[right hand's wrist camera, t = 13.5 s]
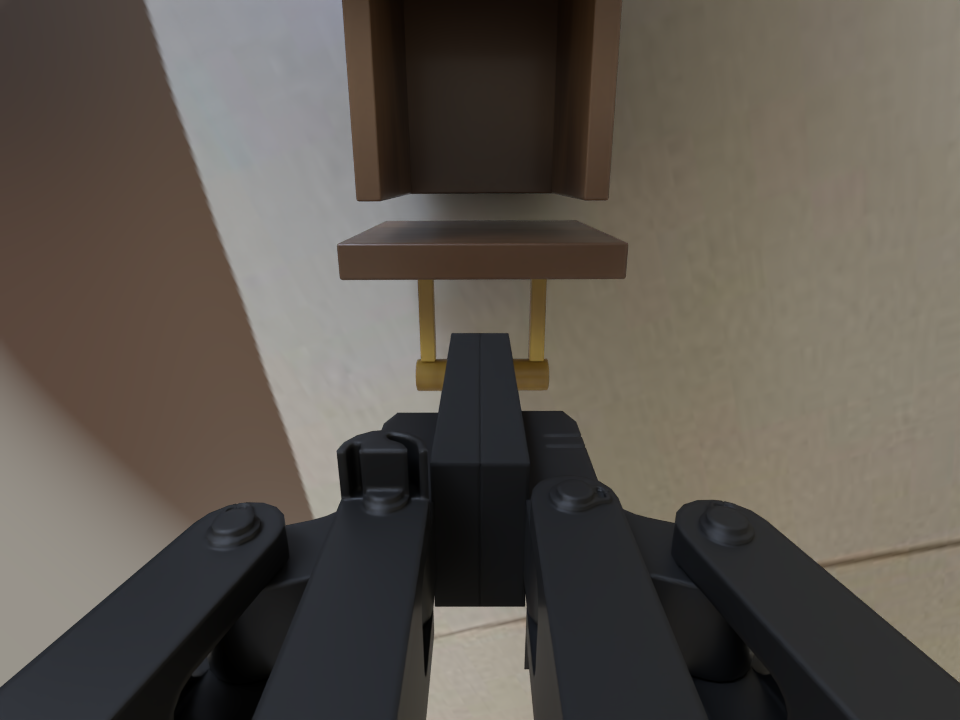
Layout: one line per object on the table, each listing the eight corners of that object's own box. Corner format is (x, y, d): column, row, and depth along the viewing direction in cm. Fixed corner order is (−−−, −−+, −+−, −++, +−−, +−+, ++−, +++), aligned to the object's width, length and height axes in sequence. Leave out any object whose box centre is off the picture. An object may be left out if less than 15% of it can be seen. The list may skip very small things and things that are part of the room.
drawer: (571, 347, 29) (613, 426, 20) (392, 348, 29) (352, 427, 20) (602, -237, 21) (695, -548, 12) (358, -235, 21) (267, -546, 12)
